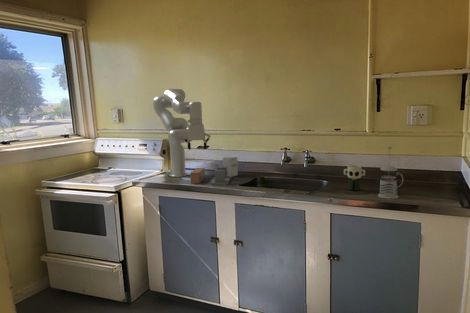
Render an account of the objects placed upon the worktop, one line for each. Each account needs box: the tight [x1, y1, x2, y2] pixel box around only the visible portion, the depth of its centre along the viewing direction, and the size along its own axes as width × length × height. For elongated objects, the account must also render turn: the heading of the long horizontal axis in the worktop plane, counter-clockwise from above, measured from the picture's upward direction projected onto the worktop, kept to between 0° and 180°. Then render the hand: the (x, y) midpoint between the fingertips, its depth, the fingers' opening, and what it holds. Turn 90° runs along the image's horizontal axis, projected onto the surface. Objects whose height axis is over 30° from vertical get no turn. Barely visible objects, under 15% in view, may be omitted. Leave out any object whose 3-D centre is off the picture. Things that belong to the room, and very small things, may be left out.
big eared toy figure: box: [343, 164, 366, 191], centre depth 203 cm, size 11×7×13 cm, turn 69°
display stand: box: [210, 165, 232, 186], centre depth 235 cm, size 10×22×8 cm, turn 176°
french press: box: [377, 145, 404, 199], centre depth 186 cm, size 10×12×25 cm
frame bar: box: [189, 167, 206, 185], centre depth 239 cm, size 5×18×7 cm, turn 172°
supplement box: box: [222, 156, 239, 178], centre depth 253 cm, size 7×7×13 cm
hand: (197, 149), depth 237 cm, fingers open, 9 cm apart
